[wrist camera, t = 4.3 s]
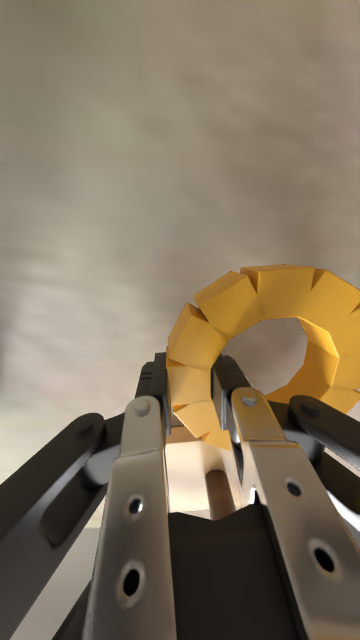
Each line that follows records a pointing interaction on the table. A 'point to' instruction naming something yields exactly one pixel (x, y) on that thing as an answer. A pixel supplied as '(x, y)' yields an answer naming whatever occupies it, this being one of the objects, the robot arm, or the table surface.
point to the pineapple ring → (245, 311)
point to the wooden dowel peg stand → (200, 475)
